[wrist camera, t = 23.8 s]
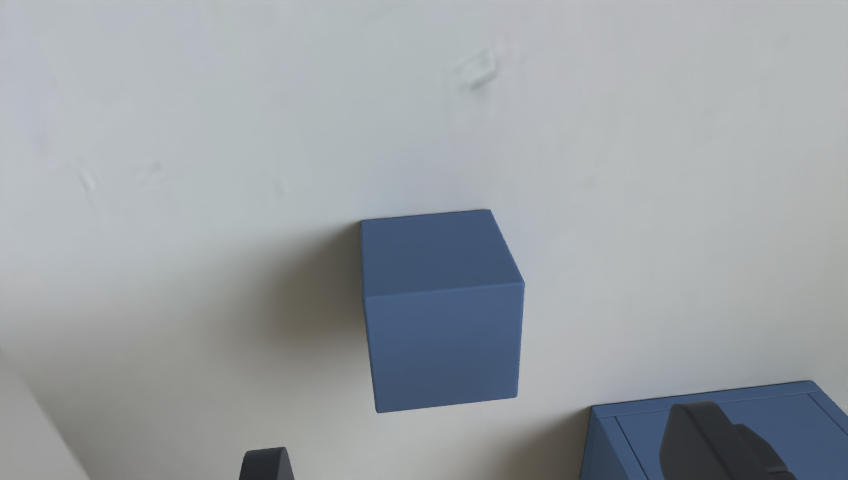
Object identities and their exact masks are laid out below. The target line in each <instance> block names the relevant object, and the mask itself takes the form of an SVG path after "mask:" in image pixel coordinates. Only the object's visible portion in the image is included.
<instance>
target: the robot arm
mask: <svg viewBox="0 0 848 480" xmlns="http://www.w3.org/2000/svg"><path fill="white" fill-rule="evenodd" d="M659 459H660V466H661V470H662V473H663V476H664V479H665V480H797V478H796V477H795V476H794V475H793V473H792V472H789V471H788V469H787V466H786V464H785V463H784V462H783V460H782V459H781V458H780V457H779V455H778V454H777V453H776V452H775V450H774V449H773V448H772V446H771V445H770V444H769V443H768V442H767V441H766V440H764V439H763V438H762V437H760V436H759V435H758V434H756V433H755V432H754V431H752V430H751V429H750V428H748V427H747V426H746V425H744V424H735V425H733V424H732V423H731V422H730V420H729V419H728V417H727V416H726V415H725V413H724V412H723V411H722V409H721V408H720V407H719V406H718V405H717V404H716V403H715V402H714V401H712V400H703V401H694V402H686V403H677V404H674V405H672V407H671V409H670V412H669V416H668V420H667V424H666V428H665V432H664V435H663V439H662V443H661V447H660V452H659ZM239 480H294V476H293V472H292V468H291V464H290V460H289V457H288V453H287V450H286V448H285V447H277V448H269V449H260V450H251V451H247V452H246V453H245V456H244V459H243V463H242V467H241V472H240V477H239Z"/></svg>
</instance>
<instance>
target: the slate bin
mask: <svg viewBox="0 0 848 480" xmlns="http://www.w3.org/2000/svg"><path fill="white" fill-rule="evenodd" d="M703 400H712V401H714V402H715V403H716V404H717V405H718V406H719V407H720V408H721V409H722V411H723V412H724V413H725V415H726V416H727V417H728V419H729V420H730V422H731V423H732V424H733V425H735V424H744V425H746V426H747V427H748V428H750V429H751V430H752V431H754V432H755V433H756V434H758V435H759V436H760V437H762V438H763V439H764V440H766V441H767V442H768V443H769V444H770V445H771V446H772V448H773V449H774V450H775V452H776V453H777V454H778V455H779V457H780V458H781V459H782V460H783V462H784V463H785V464H786V466H787V469H788V471H789V472H792V473H793V475H794V476H795V477H796V478H797V480H848V416H847V415H846V414H845V413H844V412H843V411H842V410H841V409H840V408H839V407H838V406H837V405H836V404H835V403H834V402H833V401H832V400H831V399H830V398H829V397H828V396H827V395H826V394H825V393H824V392H822V390H821V389H820V388H819V387H818V386H817V385H816V384H815V383H814V382H813V381H805V382H796V383H788V384H779V385H770V386H762V387H753V388H745V389H736V390H728V391H719V392H711V393H702V394H694V395H685V396H677V397H668V398H659V399H651V400H642V401H634V402H625V403H617V404H608V405H600V406H592V409H591V415H590V421H589V427H588V433H587V439H586V445H585V451H584V457H583V463H582V469H581V475H580V480H665V479H664V476H663V473H662V470H661V466H660V459H659V452H660V447H661V443H662V439H663V435H664V432H665V428H666V424H667V420H668V416H669V412H670V409H671V407H672V405H674V404H677V403H686V402H694V401H703Z"/></svg>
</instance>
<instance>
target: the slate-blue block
mask: <svg viewBox="0 0 848 480" xmlns="http://www.w3.org/2000/svg"><path fill="white" fill-rule="evenodd" d="M360 225H361V264H362V300H363V308H364V317H365V325H366V333H367V342H368V350H369V358H370V367H371V375H372V383H373V392H374V400H375V408H376V411H377V413H385V412H394V411H403V410H412V409H420V408H429V407H438V406H446V405H455V404H464V403H473V402H481V401H490V400H499V399H508V398H515V397H517V393H518V378H519V363H520V348H521V333H522V317H523V302H524V287H525V283H524V280H523V278H522V276H521V274H520V272H519V270H518V268H517V266H516V263H515V261H514V259H513V257H512V255H511V253H510V251H509V249H508V246H507V244H506V242H505V240H504V238H503V236H502V234H501V232H500V229H499V227H498V225H497V223H496V221H495V219H494V217H493V215H492V212H491V210H476V211H465V212H454V213H442V214H431V215H419V216H408V217H397V218H385V219H374V220H363V221H361V224H360Z"/></svg>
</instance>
